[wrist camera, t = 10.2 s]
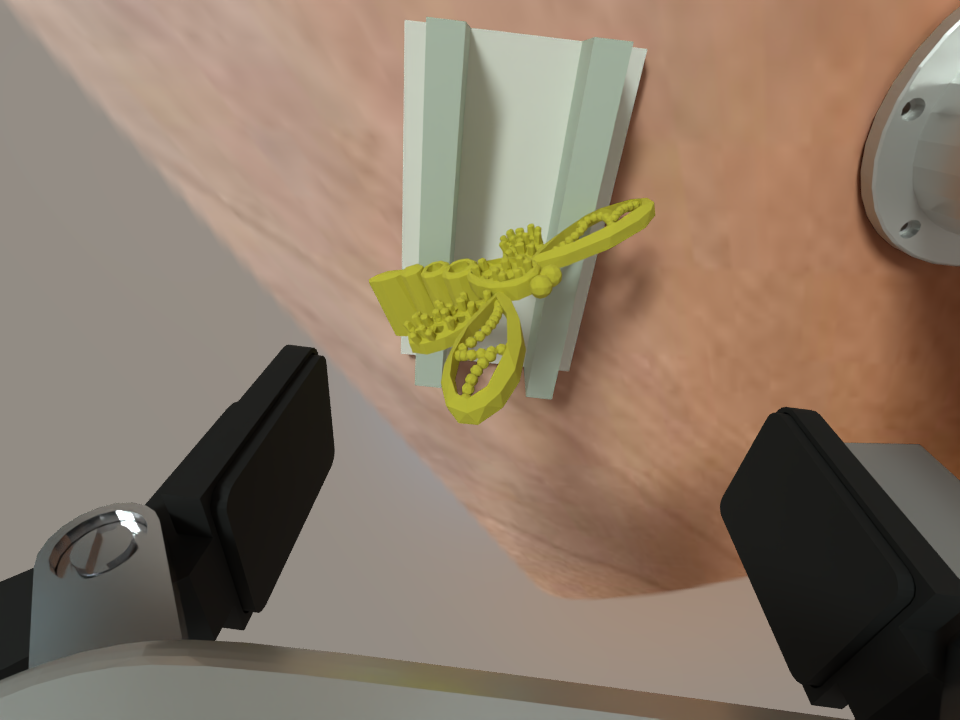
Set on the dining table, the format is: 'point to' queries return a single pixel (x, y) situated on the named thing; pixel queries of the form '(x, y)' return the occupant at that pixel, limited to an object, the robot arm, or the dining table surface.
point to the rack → (511, 163)
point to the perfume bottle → (918, 492)
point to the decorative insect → (492, 300)
